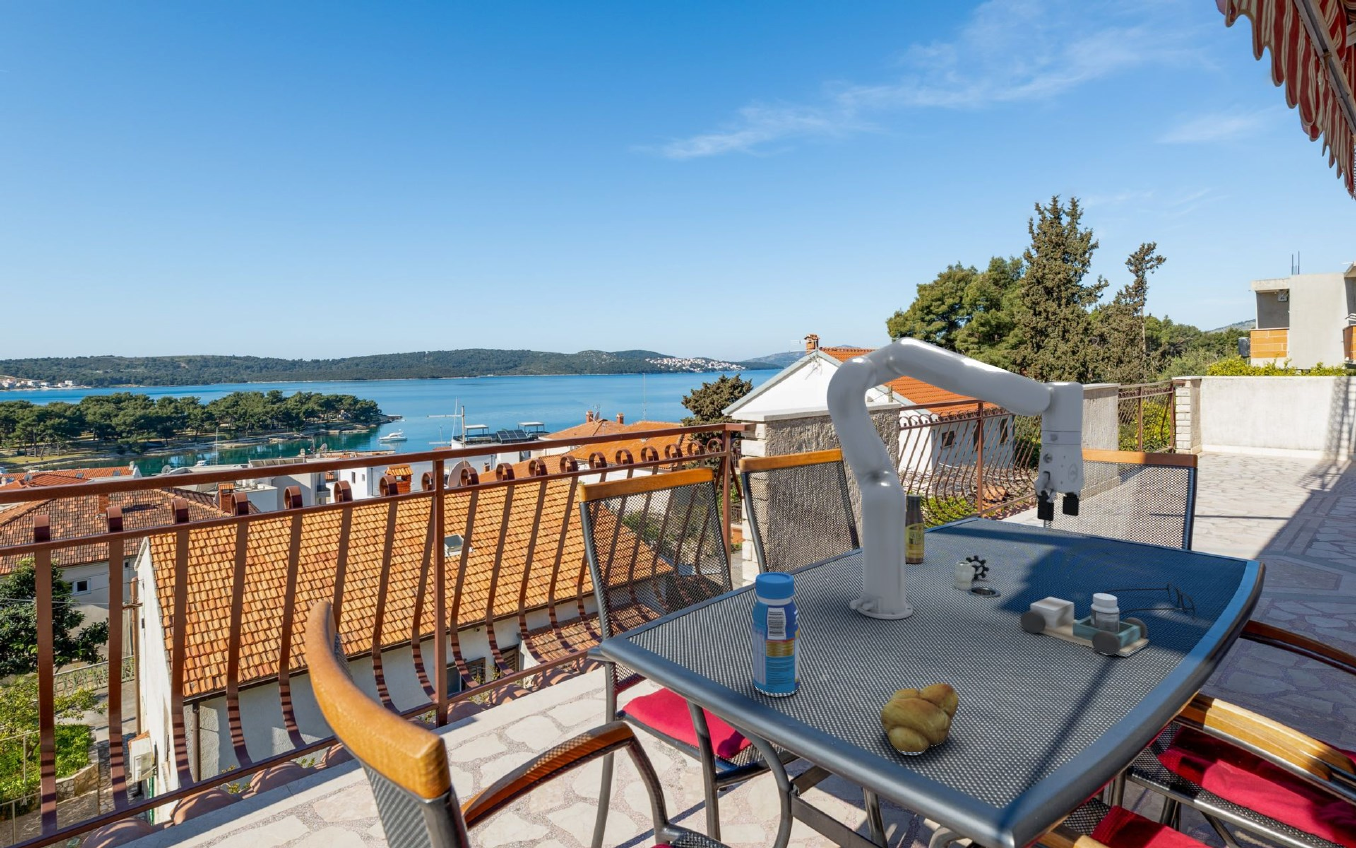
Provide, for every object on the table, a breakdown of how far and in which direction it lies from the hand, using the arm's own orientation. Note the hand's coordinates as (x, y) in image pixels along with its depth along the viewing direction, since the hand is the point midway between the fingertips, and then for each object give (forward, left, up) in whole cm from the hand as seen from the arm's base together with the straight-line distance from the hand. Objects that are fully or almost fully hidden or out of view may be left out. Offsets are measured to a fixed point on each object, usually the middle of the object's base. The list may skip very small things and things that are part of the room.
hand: (1058, 517), depth 139 cm
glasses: (+25, -7, -24) cm, 35 cm away
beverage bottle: (-70, +13, -23) cm, 75 cm away
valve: (+9, +27, -24) cm, 37 cm away
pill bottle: (-4, -11, -22) cm, 25 cm away
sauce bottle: (+16, +49, -23) cm, 57 cm away
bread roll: (-64, -11, -24) cm, 69 cm away
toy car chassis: (-4, -7, -23) cm, 24 cm away
